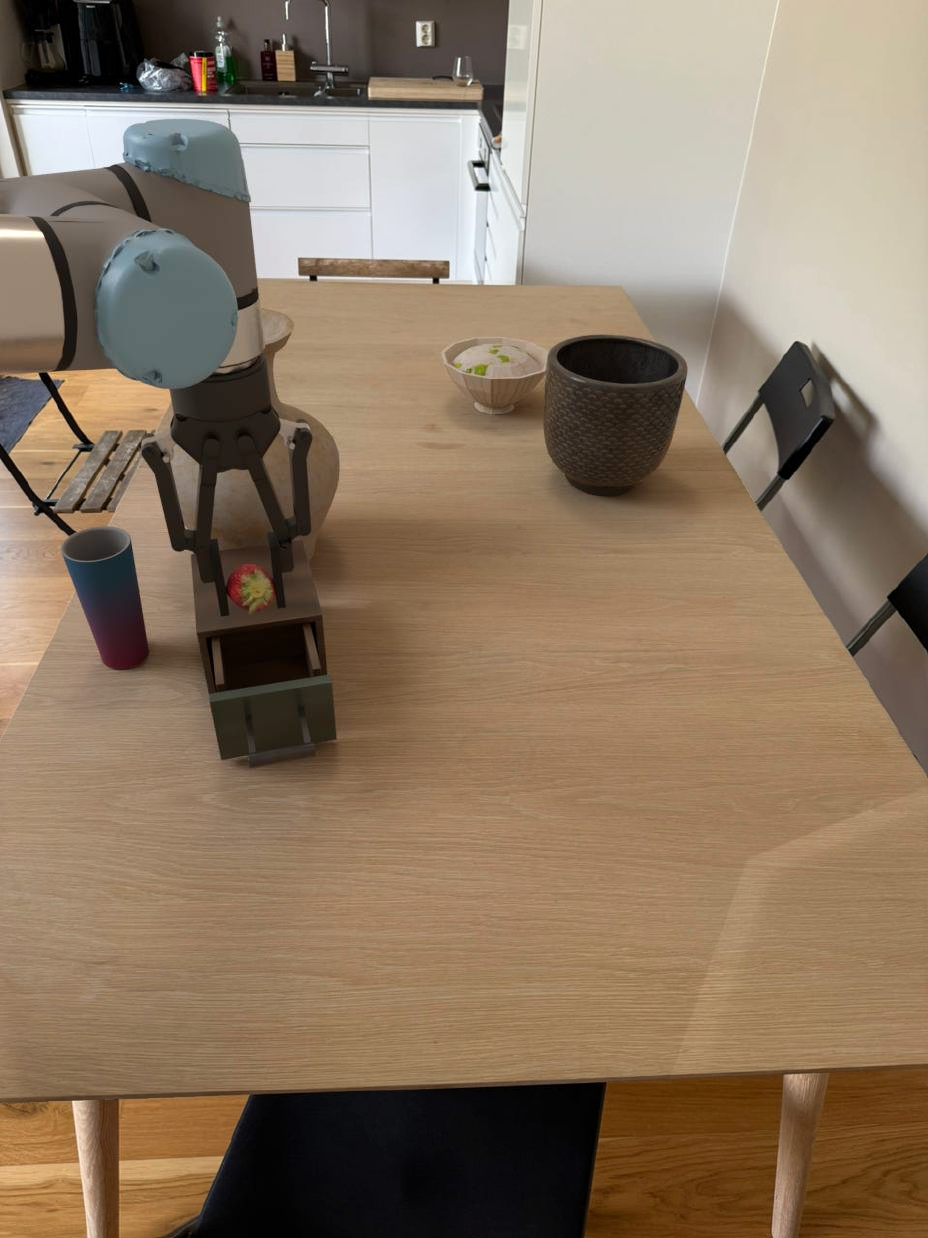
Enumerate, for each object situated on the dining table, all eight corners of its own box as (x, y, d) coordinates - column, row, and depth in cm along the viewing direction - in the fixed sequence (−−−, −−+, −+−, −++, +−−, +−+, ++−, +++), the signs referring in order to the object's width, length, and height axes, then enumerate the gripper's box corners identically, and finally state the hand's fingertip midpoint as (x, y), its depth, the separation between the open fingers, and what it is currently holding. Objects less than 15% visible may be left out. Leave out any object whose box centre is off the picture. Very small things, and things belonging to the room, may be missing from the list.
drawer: (347, 785, 85) (343, 726, 80) (225, 808, 82) (213, 749, 78) (316, 656, 100) (311, 600, 95) (212, 672, 97) (202, 615, 92)
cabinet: (328, 683, 98) (322, 614, 92) (210, 703, 95) (196, 632, 89) (309, 606, 109) (302, 539, 103) (203, 621, 106) (190, 553, 100)
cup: (131, 629, 104) (102, 519, 95) (170, 651, 101) (144, 540, 92) (81, 659, 100) (46, 546, 91) (120, 683, 97) (88, 569, 88)
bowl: (431, 424, 150) (431, 367, 143) (448, 379, 165) (449, 326, 159) (545, 434, 148) (550, 376, 142) (552, 388, 163) (557, 334, 157)
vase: (249, 493, 130) (221, 283, 111) (376, 535, 122) (368, 316, 103) (140, 566, 114) (86, 336, 96) (277, 619, 106) (246, 380, 88)
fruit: (263, 582, 84) (257, 538, 81) (286, 616, 80) (280, 571, 77) (219, 594, 83) (211, 549, 80) (240, 630, 79) (232, 584, 76)
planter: (577, 523, 126) (592, 396, 114) (514, 461, 140) (522, 343, 128) (691, 497, 133) (717, 374, 121) (621, 441, 147) (638, 326, 135)
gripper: (323, 329, 72) (340, 568, 86) (95, 345, 68) (153, 592, 82) (338, 364, 66) (353, 613, 80) (91, 384, 62) (153, 643, 77)
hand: (252, 602), depth 81 cm, fingers closed on fruit, 4 cm apart
